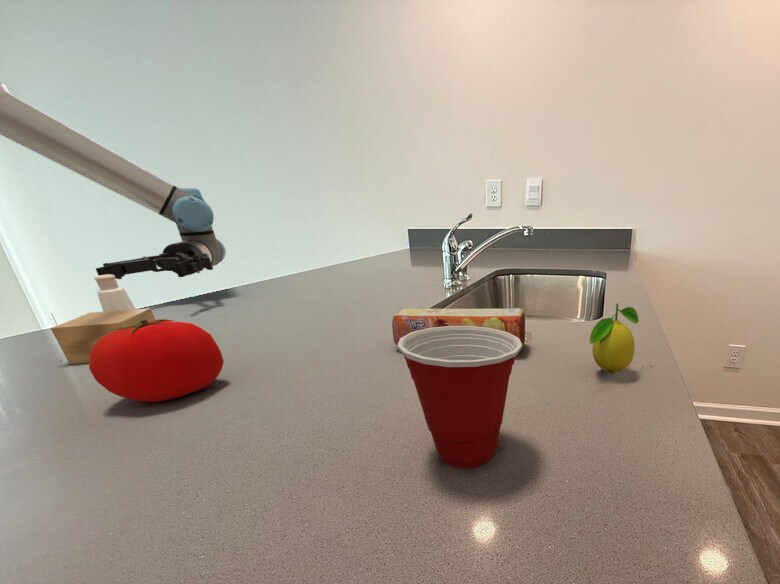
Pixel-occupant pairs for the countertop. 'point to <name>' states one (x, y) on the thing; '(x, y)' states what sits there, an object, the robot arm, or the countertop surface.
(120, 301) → the salt shaker
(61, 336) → the wood block
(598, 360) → the lemon
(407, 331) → the snack package
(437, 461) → the countertop surface
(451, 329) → the plastic cup
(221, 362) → the tomato
